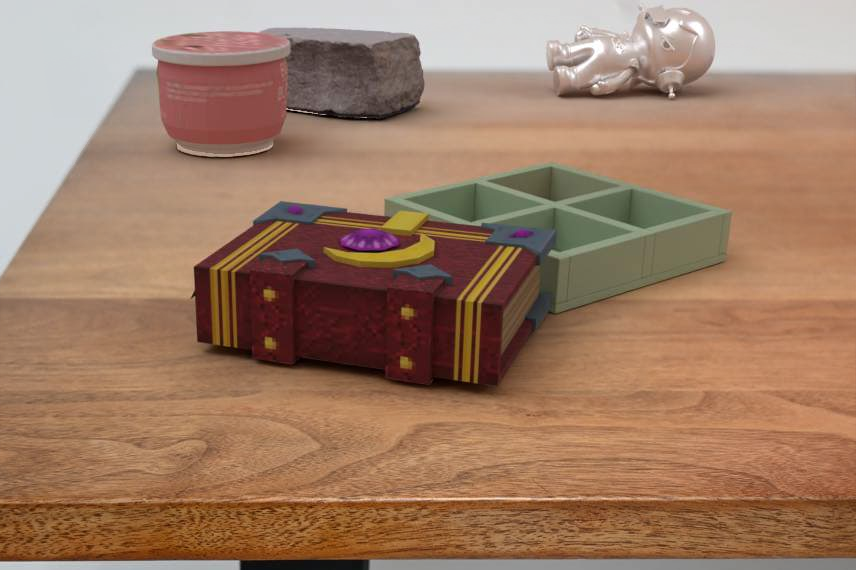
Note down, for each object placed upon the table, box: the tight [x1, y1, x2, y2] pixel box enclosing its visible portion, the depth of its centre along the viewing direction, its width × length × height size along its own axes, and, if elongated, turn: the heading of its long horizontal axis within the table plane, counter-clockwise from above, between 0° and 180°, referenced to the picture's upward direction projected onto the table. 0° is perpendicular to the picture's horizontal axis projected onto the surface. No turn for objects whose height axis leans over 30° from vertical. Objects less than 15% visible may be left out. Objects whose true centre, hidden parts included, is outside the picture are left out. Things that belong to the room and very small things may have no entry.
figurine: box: [545, 3, 716, 100], centre depth 115 cm, size 11×7×15 cm
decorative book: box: [190, 200, 557, 387], centre depth 62 cm, size 11×16×5 cm
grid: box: [383, 161, 733, 315], centre depth 73 cm, size 14×14×3 cm
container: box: [151, 30, 291, 154], centre depth 97 cm, size 10×10×8 cm
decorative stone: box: [258, 27, 425, 119], centre depth 109 cm, size 15×7×10 cm
